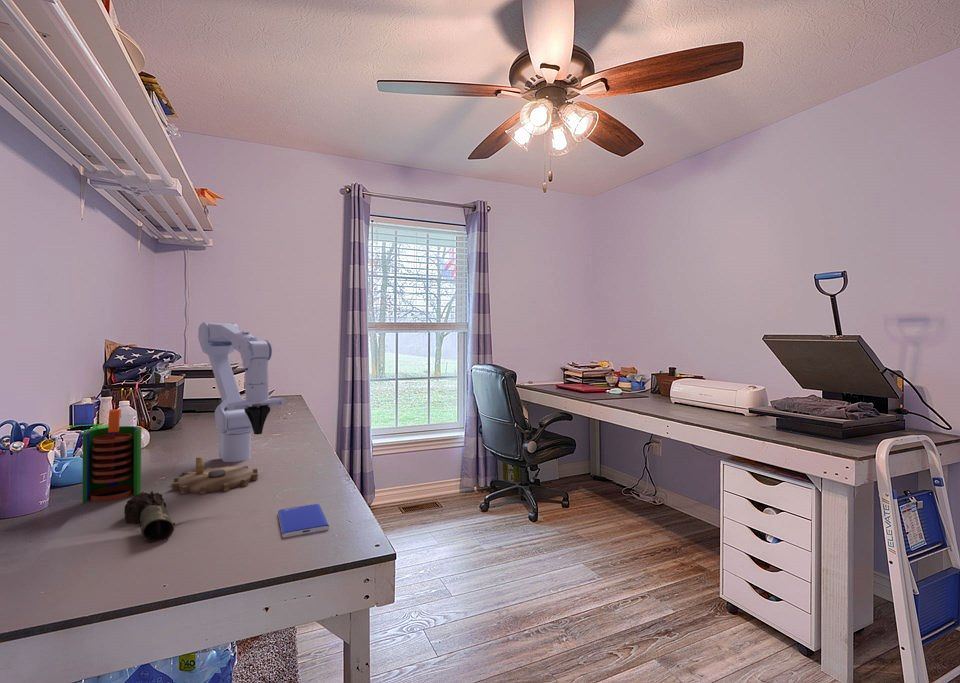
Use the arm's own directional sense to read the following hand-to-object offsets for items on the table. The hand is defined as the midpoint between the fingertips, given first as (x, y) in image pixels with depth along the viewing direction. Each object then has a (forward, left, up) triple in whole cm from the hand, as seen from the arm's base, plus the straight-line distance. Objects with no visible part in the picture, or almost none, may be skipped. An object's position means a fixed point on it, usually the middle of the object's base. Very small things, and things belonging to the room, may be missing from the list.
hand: (257, 433), depth 125 cm
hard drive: (+42, -9, -11) cm, 44 cm away
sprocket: (+6, -12, -9) cm, 16 cm away
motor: (-1, -31, -10) cm, 33 cm away
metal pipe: (+22, -30, -11) cm, 39 cm away
